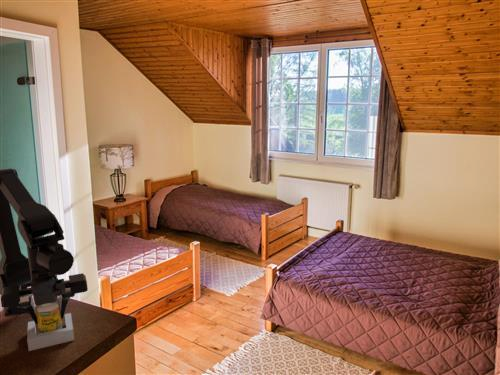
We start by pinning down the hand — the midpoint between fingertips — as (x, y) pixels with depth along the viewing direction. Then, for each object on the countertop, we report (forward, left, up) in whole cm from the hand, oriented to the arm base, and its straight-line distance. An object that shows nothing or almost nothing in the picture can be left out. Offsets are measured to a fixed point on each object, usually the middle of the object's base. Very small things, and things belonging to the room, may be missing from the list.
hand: (49, 320), depth 104 cm
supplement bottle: (0, 0, -3) cm, 3 cm away
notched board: (+1, 0, -4) cm, 4 cm away
